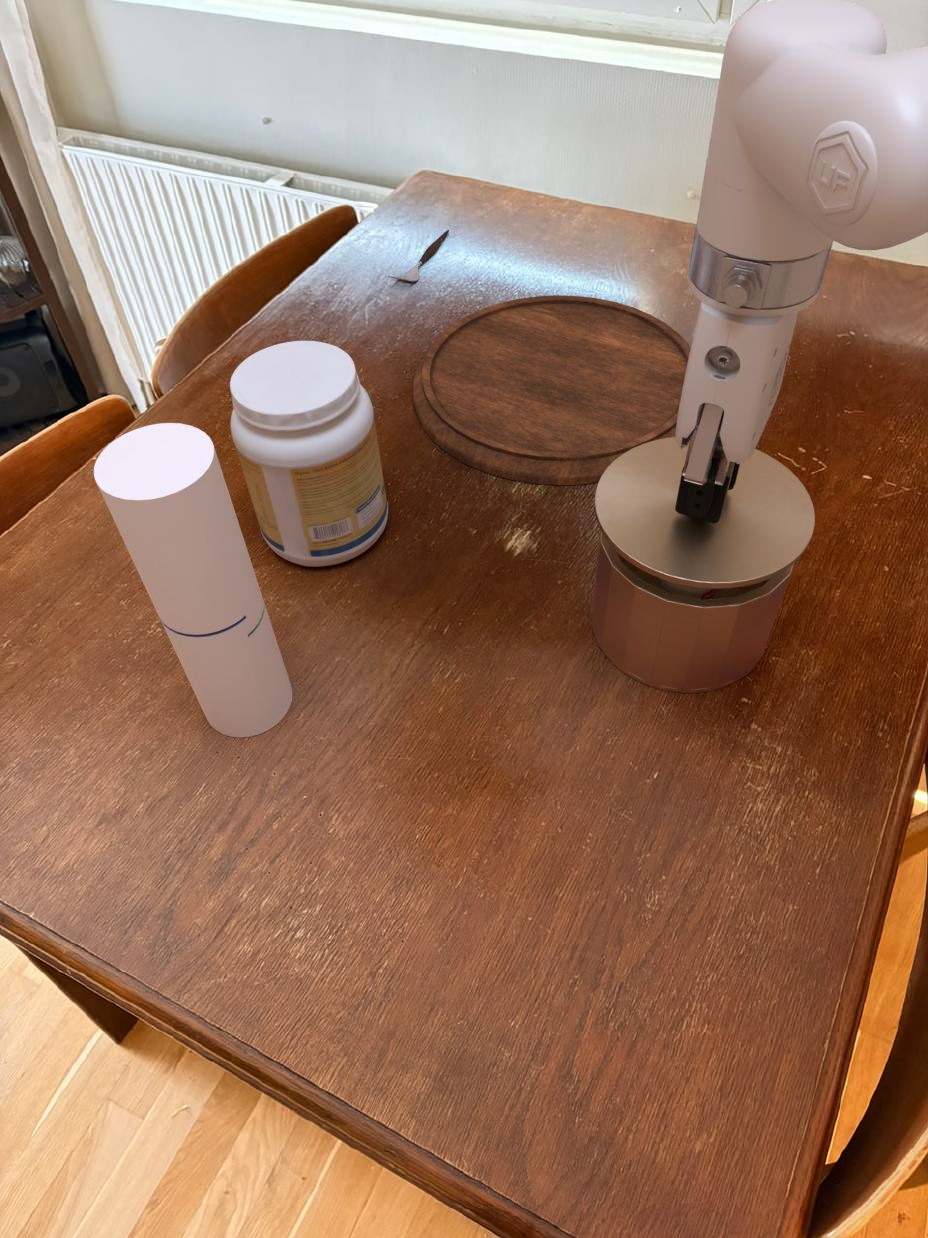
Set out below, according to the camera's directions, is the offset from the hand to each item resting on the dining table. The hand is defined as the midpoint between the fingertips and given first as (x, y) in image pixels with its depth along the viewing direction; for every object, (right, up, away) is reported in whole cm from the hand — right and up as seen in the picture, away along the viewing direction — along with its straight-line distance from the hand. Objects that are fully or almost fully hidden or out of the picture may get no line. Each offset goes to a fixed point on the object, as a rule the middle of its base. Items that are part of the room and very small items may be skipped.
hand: (705, 497), depth 65 cm
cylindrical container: (-35, -16, +8) cm, 39 cm away
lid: (0, -1, +1) cm, 1 cm away
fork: (-23, +38, +52) cm, 68 cm away
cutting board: (-7, +16, +33) cm, 38 cm away
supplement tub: (-31, 0, +20) cm, 37 cm away
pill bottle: (+1, -9, +11) cm, 14 cm away
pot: (+1, -9, +11) cm, 14 cm away
